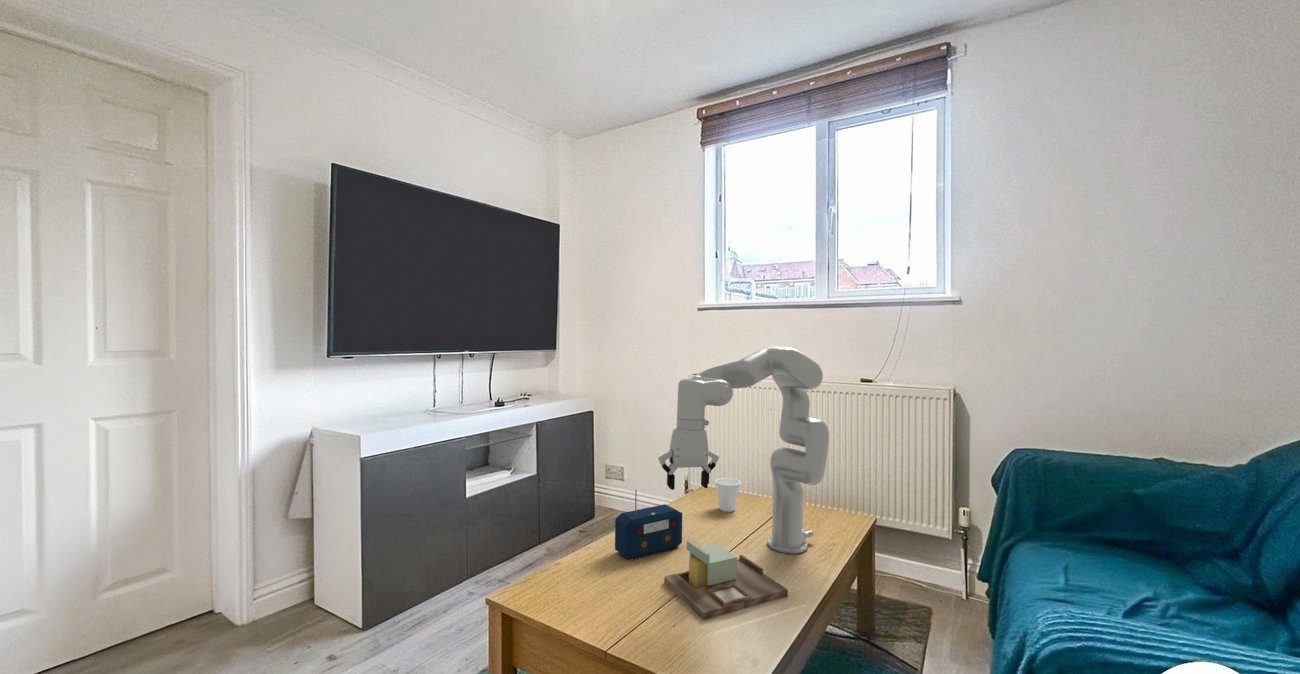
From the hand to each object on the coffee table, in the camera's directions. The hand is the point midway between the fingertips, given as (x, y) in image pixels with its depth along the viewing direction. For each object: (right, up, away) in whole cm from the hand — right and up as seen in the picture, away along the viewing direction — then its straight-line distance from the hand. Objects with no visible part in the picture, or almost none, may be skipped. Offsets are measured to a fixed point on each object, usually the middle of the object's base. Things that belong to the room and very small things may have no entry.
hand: (687, 487), depth 142 cm
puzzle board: (+10, -27, -2) cm, 29 cm away
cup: (+20, -26, +60) cm, 68 cm away
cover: (+7, -25, +2) cm, 25 cm away
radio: (-11, -27, +23) cm, 36 cm away
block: (+3, -27, 0) cm, 27 cm away
